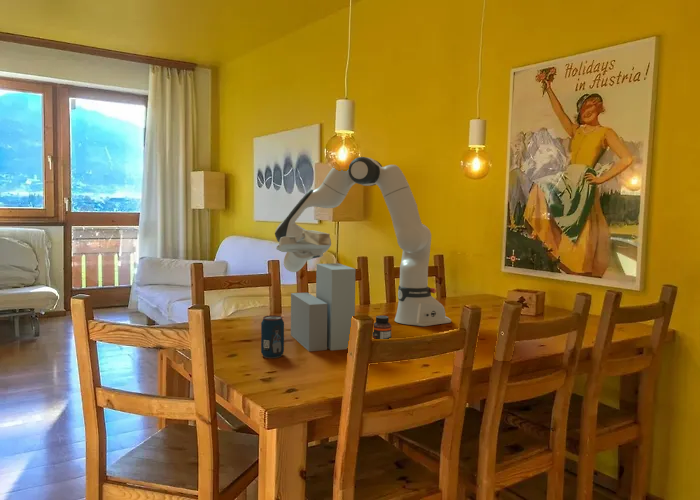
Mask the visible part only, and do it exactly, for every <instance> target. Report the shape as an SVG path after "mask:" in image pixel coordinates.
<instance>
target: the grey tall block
mask: <svg viewBox="0 0 700 500" xmlns="http://www.w3.org/2000/svg"><path fill="white" fill-rule="evenodd" d="M315 268H316V271H315V273H316V276H315V277H316V279H315V280H316V281H315V282H316V284H315V287H316V288H315V297H316V298H318V299H320V300H322V301H324V302H325V303H327V304H328V307H327V350H328V349H329V350H330V351H340V350H341V351H342V350H348V349H347V347H348V341H349V334H350V327H351V318H352V316H355V317H356V315H355V314H356V271H357V269H356V268H354V267H351V266H348V265H346V264H342V263H337V262H336V263H316V266H315Z"/></svg>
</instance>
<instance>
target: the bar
mask: <svg viewBox="0 0 700 500" xmlns="http://www.w3.org/2000/svg"><path fill="white" fill-rule="evenodd" d="M303 233H305V238H304V239H302V241H305V242H309V243H312V244H316V245H330V239H331V234H330V233H327V232H324V231H320V230H319V231H318V230H313V229H311V230H310V229H306V230H303Z"/></svg>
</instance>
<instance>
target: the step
mask: <svg viewBox="0 0 700 500" xmlns="http://www.w3.org/2000/svg"><path fill="white" fill-rule="evenodd" d="M327 307H328V304H327V303H325V302H324V301H322V300H320V299H318V298H316V295H315V296H314V295H313V294H311V293H309V292H291V293H290V336H291V337H292V338H293V339H295V340H296V341H297V343H299V344H300V345H301V346H303V348H304V349H306V350H307V351H308V352H317V351H318V352H319V351H327V350H328V348H327Z"/></svg>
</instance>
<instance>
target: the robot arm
mask: <svg viewBox="0 0 700 500" xmlns="http://www.w3.org/2000/svg"><path fill="white" fill-rule="evenodd" d="M355 184H358V185H361V186H365V187H367V186H368V187H371V186H372V187H373V186H378V188H379V190H380V191H381V194H382V197H383V199H384V202H385V205H386V206H387V210H388V212H389V214H390V217H391V221H392V227H393V229H394V234H395V237H396V241H397V244H398V246H399V248H400V249H401V250H402V255H401V261H400V265H399V285H398V288H397V290H398V291H397V298H398V303H397V309H396V313H395V317H394V322H396V323H399V324H403V325H409V326H410V325H411V326H416V327H417V326H418V327H428V326H434V325H435V326H436V325H440V324H441V325H443V324H449V323H451V322H452V319H451V318H449V317H448V316H446V311H445V310H446V309H445V307H444V305H443V303H441V302H440V301H439V300H437V299H436V298H435V297H433V296H432V294H436V293H437V289H436V288H435V287H429V286H428V282H429V281H428V280H429V279H428V278H429V263H430V253H431V247H432V246H431V245H432V233H431V230H430V228H428V226H426V225H425V224H423V223H422V220H421V217H420V214H419V210H418V203H416V200H415V197H414V194H413V191H412V190H411V186H410V184H409V183H408V180H407V178H406V176H405V174H404V173H403V171H402V169H401V168H400V166H398V165H397V164H388V165H385V166H383V165H382V164H381V163H380V162H379V161H377V160H375V159H373V158H371V157H366V156H359V157H356V158H354V159H353V160H352V161H351V162H350V164H349V169H348V170H347V171H343V170H341V171H338V170H336V169H335V168H333V167H332V168H331V169H330V170H329V172H328V173H327V174H326V176H325V177H324V179H323V181H322V182H321V184H320V185H319V186H318V187H317V188H315V189H310V190H308V191H307V192H306V193H305V195H304V196H303V197H302V198H301V199H300V200H299V202H297V204H296V205H295V206H294V207H293V209H292V210H291V211H290V212H289V213H288V215H287V217H285V218H284V219H283V221H281V222H280V223H279V224H278V226H277V227H276V228H275V231H274V235H275V238H276V241H277V242H278V245H277V246H276V251H278V252H280V253H285V255H284V258H283V267H284V269H286V270H287V272H290V273H297V272H299V271H300V270H301V269H302V268H303V267H304V266H305V265H306V263H307V261H309V260H313V259H318V258H322V257H323V256H324V253H326V252H328V250H329V249H330V248H331V247H332V239H331V238H330V245H316V244H312V243H309V242H305V241H302V239H304V238H305V233H303V230H307V229H305V228H303V227H302V226H300V225H298V223H296V221H297V220H298V219H299V217H300V216H301V215H302V214H303V213H304V211H305V210H306V209H309V208H313V207H315V208H321V209H334V208H337V207H340V205H341V204H342V203H343V202H344V200H345V199H346V197H347V195H348V193H349V191H350V190H351V188H352V187H353V186H354V185H355Z"/></svg>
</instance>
